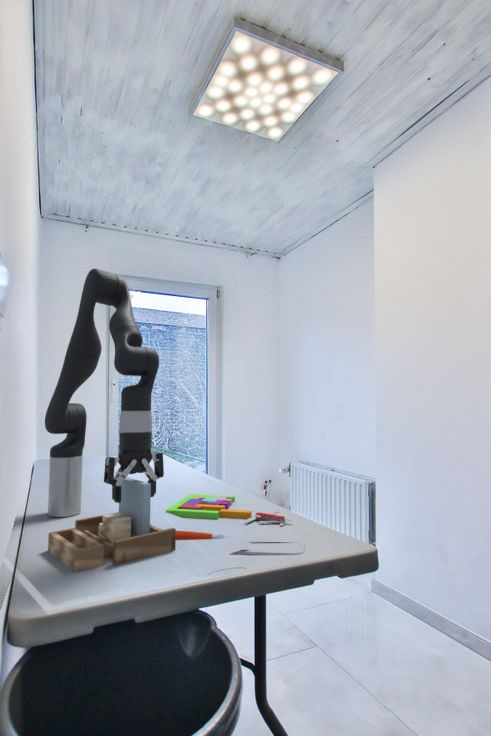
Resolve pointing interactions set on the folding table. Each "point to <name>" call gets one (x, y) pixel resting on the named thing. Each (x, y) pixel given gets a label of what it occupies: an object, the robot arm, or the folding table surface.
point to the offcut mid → (114, 533)
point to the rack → (129, 542)
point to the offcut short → (116, 521)
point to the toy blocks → (207, 507)
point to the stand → (76, 549)
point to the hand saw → (198, 535)
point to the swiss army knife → (269, 518)
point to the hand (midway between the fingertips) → (134, 499)
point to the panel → (136, 504)
